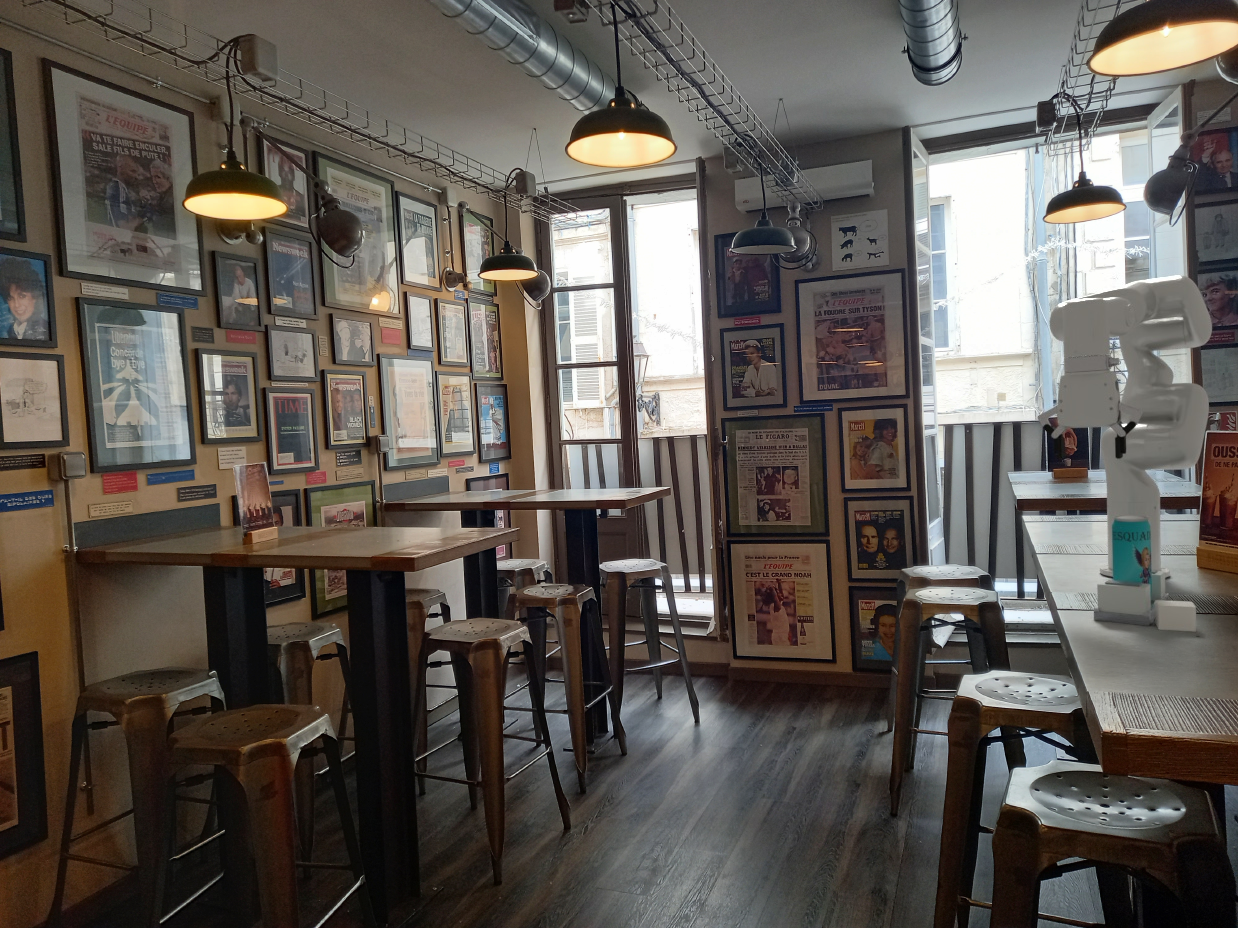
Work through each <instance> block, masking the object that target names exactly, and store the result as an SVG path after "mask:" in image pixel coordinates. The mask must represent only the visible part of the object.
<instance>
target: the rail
mask: <svg viewBox="0 0 1238 928" xmlns="http://www.w3.org/2000/svg"><path fill="white" fill-rule="evenodd" d="M1157 600H1164V601H1170V593H1168V592H1167V593H1166V592H1165V595H1164V596H1162V597H1161V598H1158V599H1157ZM1093 621H1103V622H1111V623H1120V624H1131V625H1138V626H1147V627H1148V626H1150V625H1151V624H1152V623H1154V622H1155V600H1151V608H1150V609H1149V610H1148V611H1147V612H1146V613H1143V615H1134V614H1124V613H1114V612H1105V611H1100V608H1098V604H1097V605H1096V606H1094V607H1093Z"/></svg>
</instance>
